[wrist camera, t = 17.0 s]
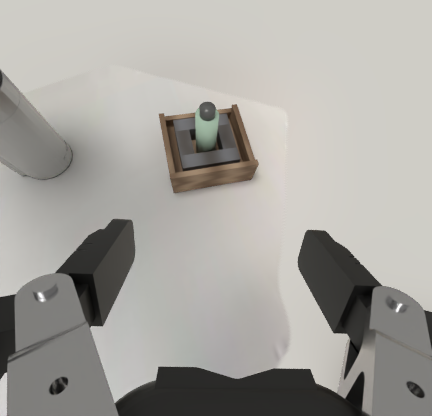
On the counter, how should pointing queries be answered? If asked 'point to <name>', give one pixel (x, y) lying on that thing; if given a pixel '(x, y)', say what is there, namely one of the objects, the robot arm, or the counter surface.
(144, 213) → the counter surface
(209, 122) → the mint green cylinder
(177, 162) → the box
